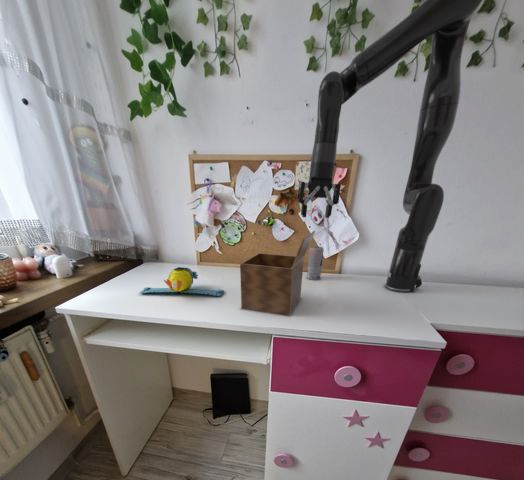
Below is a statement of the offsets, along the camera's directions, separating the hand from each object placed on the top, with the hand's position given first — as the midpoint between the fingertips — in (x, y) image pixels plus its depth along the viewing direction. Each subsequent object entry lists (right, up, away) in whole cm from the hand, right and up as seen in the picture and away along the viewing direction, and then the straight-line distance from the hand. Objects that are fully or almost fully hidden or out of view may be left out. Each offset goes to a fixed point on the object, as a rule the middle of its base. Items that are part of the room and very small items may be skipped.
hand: (315, 217), depth 95 cm
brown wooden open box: (-16, -32, -8) cm, 36 cm away
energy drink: (+2, -17, +16) cm, 23 cm away
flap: (-7, -18, -20) cm, 28 cm away
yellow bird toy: (-47, -26, 0) cm, 54 cm away
